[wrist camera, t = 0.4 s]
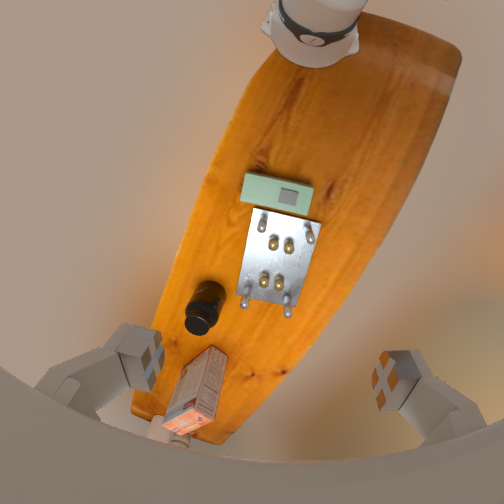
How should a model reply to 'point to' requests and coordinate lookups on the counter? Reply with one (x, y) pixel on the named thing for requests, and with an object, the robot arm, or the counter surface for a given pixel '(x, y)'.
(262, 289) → the chassis
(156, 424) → the bottle
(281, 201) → the green rectangular block
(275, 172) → the counter surface
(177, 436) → the plastic bottle
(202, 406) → the cracker box
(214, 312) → the supplement bottle
